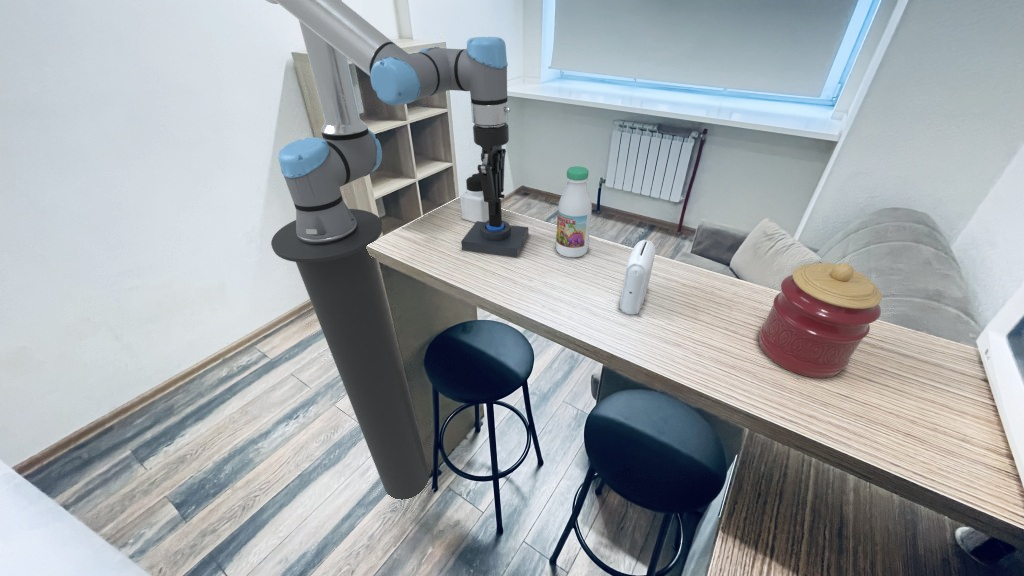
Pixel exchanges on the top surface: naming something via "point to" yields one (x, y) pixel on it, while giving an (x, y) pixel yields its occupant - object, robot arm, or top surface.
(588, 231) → the milk bottle
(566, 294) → the top surface
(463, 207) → the medicine bottle
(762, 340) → the kitchen canister
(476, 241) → the button base
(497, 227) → the push top
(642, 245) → the photo printer
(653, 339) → the top surface
